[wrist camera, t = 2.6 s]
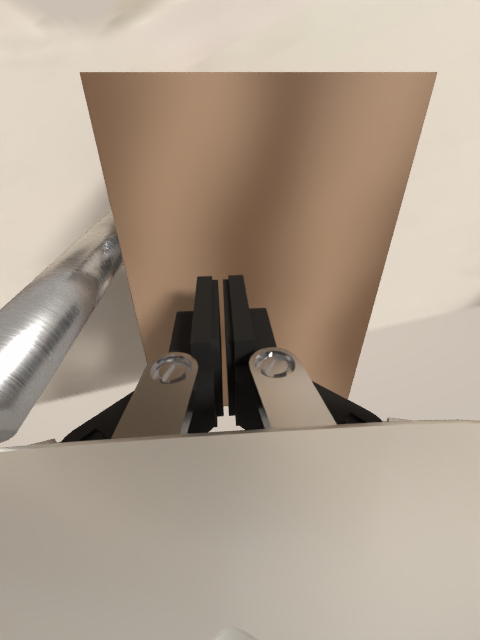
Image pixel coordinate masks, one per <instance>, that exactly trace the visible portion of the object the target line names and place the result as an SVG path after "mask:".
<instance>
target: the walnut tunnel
mask: <svg viewBox="0 0 480 640" xmlns="http://www.w3.org/2000/svg"><path fill="white" fill-rule="evenodd" d="M80 76H81V80H82V85H83V89H84V93H85V98H86V102H87V106H88V110H89V115H90V119H91V123H92V128H93V132H94V136H95V141H96V145H97V149H98V153H99V158H100V162H101V166H102V171H103V175H104V179H105V184H106V188H107V192H108V197H109V201H110V205H111V209H112V214H113V218H114V222H115V227H116V231H117V235H118V240H119V244H120V248H121V252H122V257H123V261H124V265H125V270H126V274H127V278H128V283H129V287H130V291H131V295H132V300H133V304H134V308H135V313H136V317H137V321H138V326H139V330H140V334H141V338H142V343H143V347H144V351H145V356H146V360H147V364H149V363H150V362H151V361H152V360H153V359H155V358H156V357H158V356H160V355H162V354H166V353H169V348H170V343H171V337H172V332H173V327H174V322H175V317H176V313H177V312H178V311H194V302H195V292H196V283H197V276H212V280H218V288H219V307H220V327H221V348H222V380H223V406H228V385H227V365H226V344H225V321H224V297H223V279H228V275H243V277H244V283H245V288H246V294H247V299H248V305H249V308H266V310H267V313H268V317H269V320H270V324H271V328H272V331H273V335H274V339H275V342H276V346H277V348H283V349H285V350H288V351H290V352H292V353H293V354H295V355H296V356H297V358H298V359H299V360H300V362H301V364H302V365H303V367H304V369H305V371H306V372H307V374H308V376H309V377H310V379H311V381H313V382H315V383H317V384H319V385H321V386H323V387H325V388H327V389H328V390H330V391H332V392H334V393H336V394H338V395H340V396H342V397H344V398H345V399H348V396H349V393H350V389H351V385H352V382H353V378H354V374H355V371H356V367H357V364H358V360H359V356H360V353H361V348H362V345H363V342H364V338H365V334H366V331H367V327H368V323H369V320H370V316H371V313H372V309H373V305H374V302H375V298H376V294H377V291H378V287H379V283H380V280H381V276H382V272H383V269H384V265H385V261H386V258H387V254H388V251H389V247H390V243H391V240H392V236H393V232H394V229H395V225H396V221H397V218H398V214H399V210H400V207H401V203H402V200H403V196H404V192H405V189H406V185H407V181H408V178H409V174H410V170H411V167H412V163H413V159H414V156H415V152H416V148H417V145H418V141H419V138H420V134H421V130H422V127H423V123H424V119H425V116H426V112H427V108H428V105H429V101H430V97H431V94H432V90H433V87H434V83H435V79H436V76H437V72H80Z"/></svg>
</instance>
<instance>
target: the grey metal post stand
mask: <svg viewBox="0 0 480 640" xmlns="http://www.w3.org/2000/svg"><path fill="white" fill-rule="evenodd" d="M123 263H124V261H123V257H122V252H121V248H120V244H119V240H118V235H117V231H116V227H115V222H114V218H113V214H112V210H111V211H110V212H109V213H108V214H107V215H105V216H104V217H103V218H102V219H101V220H100V221H99V222H98V223H97V224H95V225H94V226H93V227H92V228H91V229H90V230H89V231H88V232H86V233H85V234H84V235H83V236H82V237H81V238H80V239H79V240H78V241H76V242H75V243H74V244H73V245H72V246H71V247H70V248H69V249H68V250H66V251H65V252H64V253H63V254H62V255H61V256H60V257H59V258H57V259H56V260H55V261H54V262H53V263H52V264H51V265H50V266H49V267H47V268H46V269H45V270H44V271H43V272H42V273H41V274H40V275H39V276H37V277H36V278H35V279H34V280H33V281H32V282H31V283H30V284H29V285H27V286H26V287H25V288H24V289H23V290H22V291H21V292H20V293H18V294H17V295H16V296H15V297H14V298H13V299H12V300H11V301H10V302H8V303H7V304H6V305H5V306H4V307H3V308H2V309H1V310H0V443H1V442H4V441H6V440H8V439H10V438H11V437H13V436H14V435H15V434H16V433H17V431H18V430H19V428H20V426H21V425H22V423H23V422H24V420H25V418H26V417H27V415H28V414H29V412H30V410H31V409H32V407H33V406H34V404H35V403H36V401H37V399H38V398H39V396H40V395H41V393H42V391H43V390H44V388H45V387H46V385H47V383H48V382H49V380H50V379H51V377H52V376H53V374H54V372H55V371H56V369H57V368H58V366H59V364H60V363H61V361H62V360H63V358H64V356H65V355H66V353H67V352H68V350H69V348H70V347H71V345H72V344H73V342H74V341H75V339H76V337H77V336H78V334H79V333H80V331H81V329H82V328H83V326H84V325H85V323H86V321H87V320H88V318H89V317H90V315H91V313H92V312H93V310H94V309H95V307H96V306H97V304H98V302H99V301H100V299H101V298H102V296H103V294H104V293H105V291H106V290H107V288H108V286H109V285H110V283H111V282H112V280H113V278H114V277H115V275H116V274H117V272H118V271H119V269H120V267H121V266H122V264H123Z"/></svg>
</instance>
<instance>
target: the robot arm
mask: <svg viewBox="0 0 480 640" xmlns="http://www.w3.org/2000/svg"><path fill="white" fill-rule="evenodd" d="M223 297H224V321H225V344H226V365H227V385H228V406H229V416H233V415H235V417H236V426H241V427H242V428H244V429H245V430H240V431H224V432H210V433H208V432H209V431H210V430H211V429H212V428H213V427H217V416H223V415H224V413H223V380H222V348H221V327H220V307H219V288H218V280H212V276H197V283H196V292H195V302H194V311H178V312H177V313H176V317H175V322H174V327H173V332H172V337H171V343H170V348H169V353H166V354H162V355H160V356H158V357H156V358H155V359H153V360H152V361H151V362H150V363H149V364H148V365H147V367H146V368H145V370H144V372H143V374H142V376H141V378H140V381H139V383H138V385H137V387H136V389H135V391H133V392H132V393H130V394H129V395H127V396H126V397H124V398H122V399H121V400H119V401H118V402H116V403H115V404H113V405H112V406H110V407H109V408H107V409H105V410H104V411H103V412H101V413H99V414H98V415H96V416H95V417H93V418H92V419H90V420H88V421H87V422H85V423H84V424H82V425H81V426H79V427H78V428H76V429H75V430H73V431H72V432H71V433H69V434H68V435H67V436H66V437H65V438H64V439H63V440H62V441H61V442H58V443H57V442H56V441H55V439H51V440H47V441H43V442H40V443H36V444H31V445H27V446H16V447H6V448H0V640H480V421H471V420H421V421H420V420H419V421H411V420H403V419H395V418H388V419H387V422H386V421H382V420H381V419H380V418H378V417H377V416H376V415H374V414H373V413H371V412H370V411H368V410H366V409H364V408H362V407H361V406H359V405H357V404H355V403H353V402H351V401H349V400H347V399H345V398H344V397H342V396H340V395H338V394H336V393H334V392H332V391H330V390H328V389H327V388H325V387H323V386H321V385H319V384H317V383H315V382H313V381H311V379H310V377H309V376H308V374H307V372H306V371H305V369H304V367H303V365H302V364H301V362H300V360H299V359H298V358H297V356H296V355H295V354H293V353H292V352H290V351H288V350H285V349H283V348H277V346H276V342H275V339H274V335H273V331H272V328H271V324H270V320H269V317H268V313H267V310H266V308H249V305H248V299H247V294H246V288H245V283H244V277H243V275H228V279H223Z"/></svg>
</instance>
